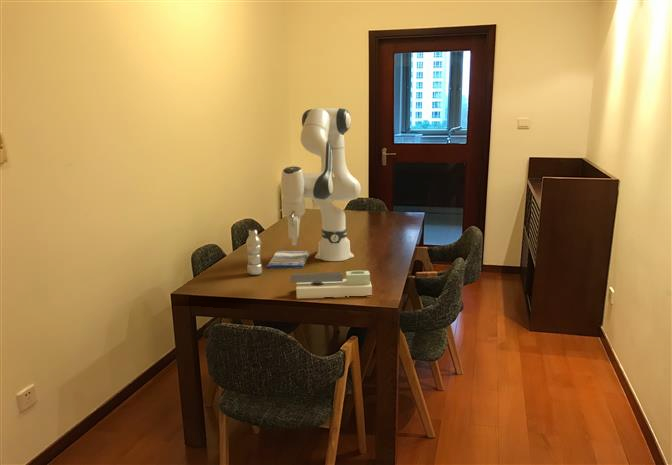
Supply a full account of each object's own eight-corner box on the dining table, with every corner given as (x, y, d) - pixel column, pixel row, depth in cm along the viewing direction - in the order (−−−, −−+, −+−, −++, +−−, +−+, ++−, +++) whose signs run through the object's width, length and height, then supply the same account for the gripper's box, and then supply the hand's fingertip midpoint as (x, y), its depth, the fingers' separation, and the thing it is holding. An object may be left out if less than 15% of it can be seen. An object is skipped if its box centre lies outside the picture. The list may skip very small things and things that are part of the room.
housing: (297, 289, 216) (296, 280, 215) (369, 287, 217) (369, 278, 216) (296, 298, 206) (296, 288, 205) (371, 296, 207) (371, 286, 206)
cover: (346, 280, 213) (345, 269, 212) (368, 280, 214) (368, 268, 213) (346, 285, 208) (346, 273, 207) (369, 284, 209) (369, 272, 208)
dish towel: (309, 255, 266) (309, 250, 266) (303, 270, 244) (303, 264, 243) (275, 255, 268) (275, 250, 267) (265, 269, 245) (265, 263, 244)
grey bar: (291, 282, 211) (291, 273, 211) (342, 280, 212) (342, 272, 211) (291, 284, 208) (291, 275, 208) (342, 283, 209) (342, 274, 208)
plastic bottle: (255, 271, 241) (253, 227, 236) (265, 273, 237) (263, 229, 232) (244, 274, 236) (241, 230, 231) (254, 277, 232) (252, 232, 227)
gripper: (301, 214, 198) (302, 250, 201) (301, 204, 218) (302, 237, 221) (284, 214, 198) (285, 251, 201) (286, 204, 218) (287, 237, 221)
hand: (294, 243), depth 211 cm, fingers open, 3 cm apart
